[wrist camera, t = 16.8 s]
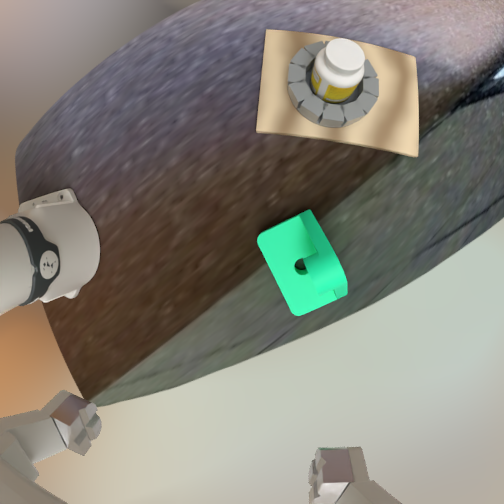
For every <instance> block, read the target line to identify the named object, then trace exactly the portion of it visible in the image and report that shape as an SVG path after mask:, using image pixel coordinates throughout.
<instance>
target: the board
mask: <svg viewBox="0 0 504 504" xmlns="http://www.w3.org/2000/svg"><path fill="white" fill-rule="evenodd" d="M337 38H338V37H333V36H326V35H320V34H312V33H304V32H295V31H283V30H266V37H265V47H264V56H263V66H262V76H261V86H260V96H259V106H258V116H257V127H256V132H257V133H267V134H278V135H288V136H297V137H306V138H313V139H321V140H328V141H334V142H341V143H347V144H353V145H358V146H364V147H369V148H374V149H379V150H384V151H388V152H393V153H397V154H402V155H406V156H410V157H418V141H419V107H418V84H417V70H416V60H415V57H413V56H410V55H407V54H404V53H401V52H398V51H394V50H391V49H387V48H383V47H380V46H376V45H372V44H367V43H363V42H359V41H354V40H351V41H353V42H355V43H356V44H358V45H359V46H360V47H361V49H362V50H363V52H364V55H365V60H366V59H368V60H369V62H370V63H371V65H372V67H373V68H374V70H375V72H376V73H377V75H378V76H377V77H376V78H378V79H379V97H378V98H377V99H378V100H377V101H376V103H375V104H374V106H373V107H372V108H371V110H370V111H369V113H368V114H367V115H365V116H364V117H363V118H362V119H361V120H359V121H357V122H355V123H354V124H351V125H349V126H346V127H341V128H328V127H323V126H320V125H317V124H315V123H313V122H311V121H309V120H307V119H306V118H305V117H303V116H302V115H301V114H300V113H299V112H298V111H297V109H296V108H295V107H294V105H293V104H292V102H291V99H290V97H289V94H288V90H287V87H288V72H289V64H290V61H291V59H292V58H293V57H294V56H295V55H296V54H297V52H298V51H299V50H300V49H301V48H303V49H304V46H306V45H310V44H313V43H316V42H320V41H323V43H324V44H325V41H332V40H334V39H337Z"/></svg>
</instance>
